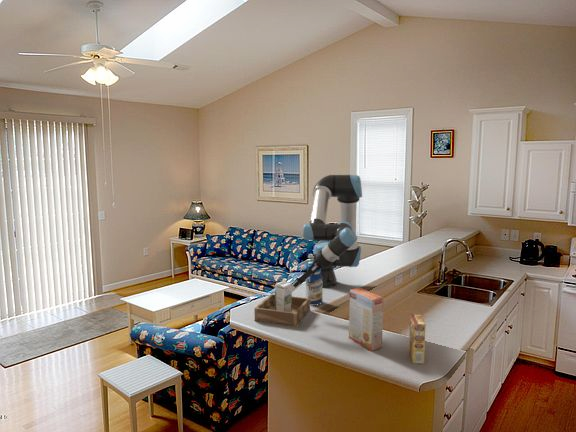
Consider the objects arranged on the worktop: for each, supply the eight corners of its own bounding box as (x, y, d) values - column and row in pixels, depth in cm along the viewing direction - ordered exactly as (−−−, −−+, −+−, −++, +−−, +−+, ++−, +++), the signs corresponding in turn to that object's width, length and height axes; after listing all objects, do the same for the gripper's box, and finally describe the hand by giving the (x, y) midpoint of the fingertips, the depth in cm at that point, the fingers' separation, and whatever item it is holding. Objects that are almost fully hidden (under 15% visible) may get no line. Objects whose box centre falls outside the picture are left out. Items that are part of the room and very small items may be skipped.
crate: (271, 305, 210) (271, 293, 209) (310, 310, 203) (310, 298, 202) (254, 320, 192) (254, 308, 191) (296, 327, 185) (296, 314, 184)
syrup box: (282, 310, 202) (282, 280, 199) (292, 312, 198) (292, 283, 196) (274, 313, 197) (274, 283, 195) (284, 316, 194) (284, 286, 191)
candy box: (424, 364, 153) (426, 324, 150) (412, 363, 153) (414, 323, 151) (419, 352, 161) (421, 314, 159) (408, 352, 162) (409, 314, 159)
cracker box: (382, 348, 165) (384, 296, 162) (370, 351, 162) (372, 299, 159) (359, 334, 177) (360, 286, 174) (348, 337, 174) (349, 289, 171)
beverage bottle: (320, 299, 218) (320, 261, 214) (324, 305, 210) (324, 266, 206) (304, 300, 216) (304, 262, 213) (308, 306, 208) (307, 267, 205)
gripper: (325, 270, 172) (291, 301, 180) (340, 255, 195) (309, 283, 203) (312, 256, 173) (279, 287, 181) (329, 243, 196) (298, 271, 204)
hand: (295, 285), depth 192 cm, fingers open, 13 cm apart
